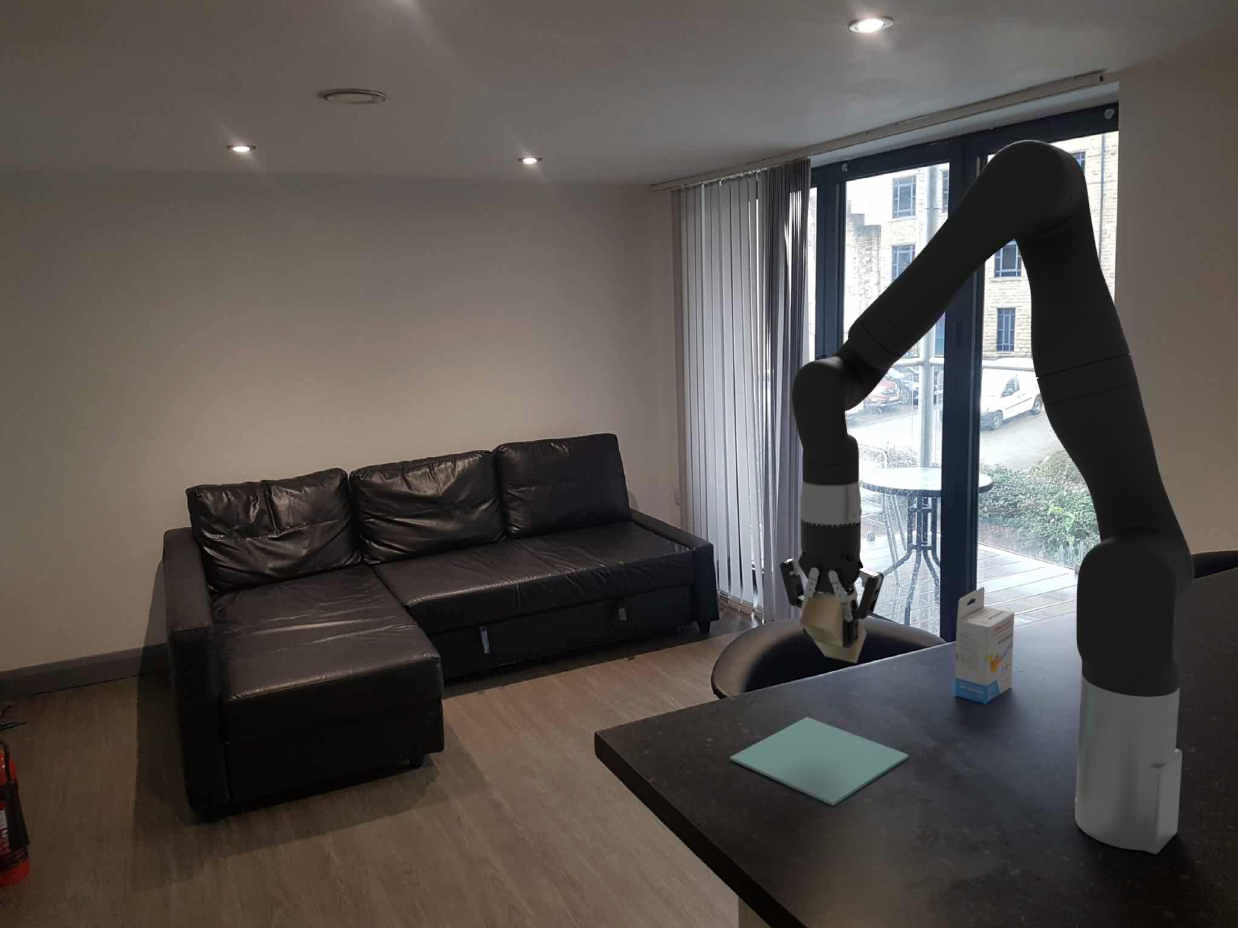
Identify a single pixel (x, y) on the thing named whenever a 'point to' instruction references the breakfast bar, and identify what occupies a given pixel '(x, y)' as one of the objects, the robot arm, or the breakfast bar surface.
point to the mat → (820, 760)
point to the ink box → (983, 649)
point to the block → (829, 627)
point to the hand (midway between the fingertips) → (830, 641)
